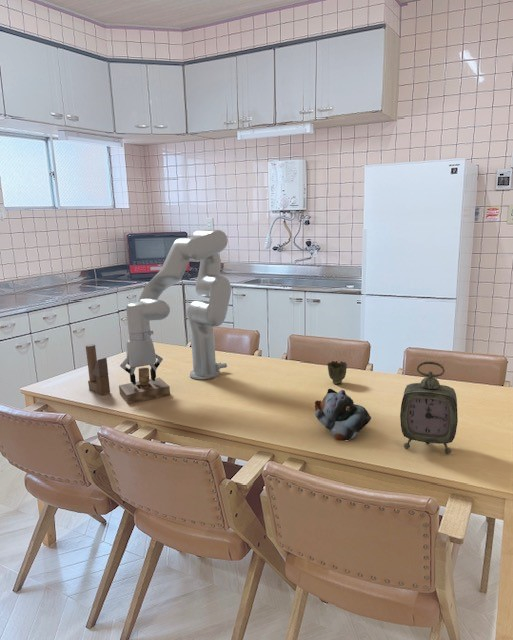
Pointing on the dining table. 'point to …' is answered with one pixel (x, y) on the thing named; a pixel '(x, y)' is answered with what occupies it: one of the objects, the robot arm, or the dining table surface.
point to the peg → (144, 377)
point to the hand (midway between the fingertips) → (143, 381)
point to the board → (144, 391)
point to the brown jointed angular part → (97, 371)
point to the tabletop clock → (429, 411)
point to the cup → (337, 371)
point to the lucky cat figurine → (341, 415)
